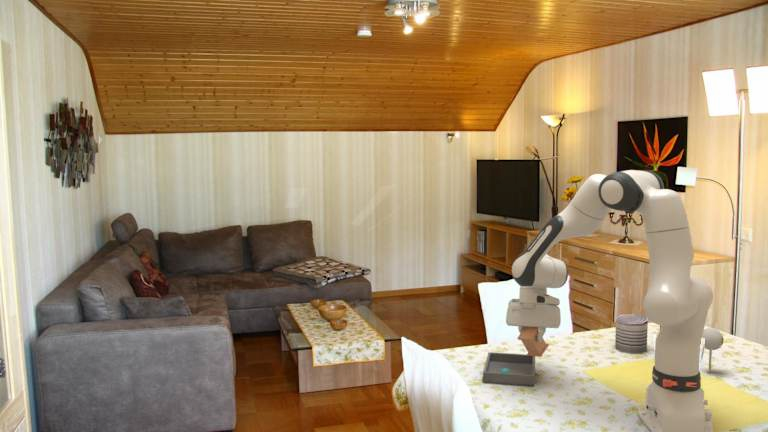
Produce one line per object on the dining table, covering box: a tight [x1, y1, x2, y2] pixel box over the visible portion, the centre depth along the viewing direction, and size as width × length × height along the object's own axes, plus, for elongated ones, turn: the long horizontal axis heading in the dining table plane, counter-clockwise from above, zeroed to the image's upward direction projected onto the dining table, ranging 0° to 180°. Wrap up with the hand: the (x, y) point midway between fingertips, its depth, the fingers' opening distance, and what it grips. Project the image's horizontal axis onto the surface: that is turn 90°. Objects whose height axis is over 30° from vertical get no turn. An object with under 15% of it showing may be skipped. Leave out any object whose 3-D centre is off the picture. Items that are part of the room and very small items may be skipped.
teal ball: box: [501, 368, 510, 373], centre depth 206 cm, size 3×3×3 cm
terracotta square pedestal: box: [517, 327, 550, 358], centre depth 208 cm, size 6×6×8 cm
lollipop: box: [702, 327, 724, 374], centre depth 208 cm, size 7×7×15 cm
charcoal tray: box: [482, 351, 536, 387], centre depth 211 cm, size 20×16×4 cm
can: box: [614, 313, 650, 355], centre depth 233 cm, size 11×11×12 cm
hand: (531, 341), depth 208 cm, fingers closed on terracotta square pedestal, 5 cm apart
